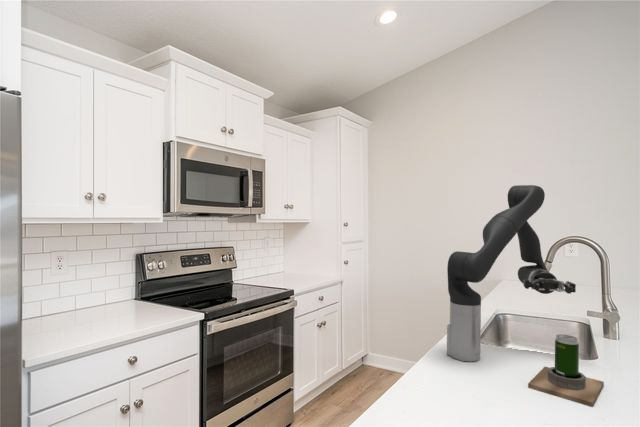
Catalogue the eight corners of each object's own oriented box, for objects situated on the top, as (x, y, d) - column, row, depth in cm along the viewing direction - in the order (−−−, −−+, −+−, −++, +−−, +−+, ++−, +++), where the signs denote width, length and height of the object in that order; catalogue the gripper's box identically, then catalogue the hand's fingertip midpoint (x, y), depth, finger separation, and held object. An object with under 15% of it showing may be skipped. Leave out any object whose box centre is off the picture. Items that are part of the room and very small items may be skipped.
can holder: (528, 387, 100) (528, 374, 100) (544, 369, 112) (544, 357, 112) (592, 406, 91) (592, 392, 91) (603, 385, 102) (603, 372, 102)
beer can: (572, 388, 98) (573, 342, 98) (550, 380, 102) (551, 336, 102) (582, 383, 101) (582, 338, 101) (560, 376, 105) (560, 332, 105)
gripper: (519, 268, 136) (528, 275, 120) (566, 271, 131) (580, 278, 116) (519, 289, 136) (527, 298, 120) (565, 293, 131) (580, 303, 116)
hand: (553, 289), depth 118 cm, fingers open, 8 cm apart
